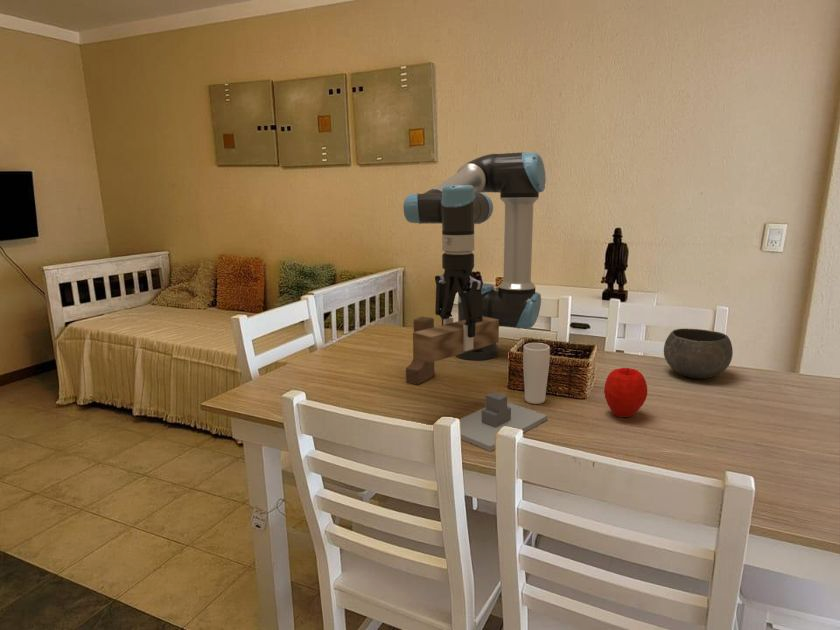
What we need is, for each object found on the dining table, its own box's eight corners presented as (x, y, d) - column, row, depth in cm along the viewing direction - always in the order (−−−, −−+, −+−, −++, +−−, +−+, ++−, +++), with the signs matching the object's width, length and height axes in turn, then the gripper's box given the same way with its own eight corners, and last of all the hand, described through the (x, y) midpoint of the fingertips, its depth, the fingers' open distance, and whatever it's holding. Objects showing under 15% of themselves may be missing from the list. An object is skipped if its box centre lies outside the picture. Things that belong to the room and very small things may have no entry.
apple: (640, 427, 127) (644, 377, 124) (597, 418, 132) (600, 371, 129) (648, 412, 135) (652, 365, 132) (607, 404, 140) (610, 359, 137)
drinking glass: (549, 397, 145) (551, 343, 142) (546, 407, 139) (548, 351, 136) (523, 394, 148) (525, 341, 144) (519, 404, 141) (521, 349, 138)
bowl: (662, 381, 155) (666, 339, 152) (661, 362, 171) (664, 323, 168) (733, 389, 148) (739, 344, 145) (725, 368, 165) (730, 328, 162)
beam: (480, 338, 143) (481, 315, 142) (498, 342, 139) (499, 319, 138) (413, 357, 127) (412, 332, 126) (431, 362, 123) (430, 337, 122)
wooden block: (418, 385, 156) (416, 324, 152) (405, 382, 159) (403, 322, 155) (435, 376, 164) (434, 317, 159) (422, 373, 166) (421, 316, 162)
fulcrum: (501, 404, 142) (501, 376, 140) (547, 419, 132) (548, 390, 130) (442, 431, 127) (442, 401, 125) (490, 451, 117) (490, 418, 115)
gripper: (419, 250, 132) (420, 342, 137) (478, 257, 118) (477, 358, 124) (440, 248, 137) (441, 336, 142) (500, 253, 123) (498, 351, 129)
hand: (458, 346), depth 133 cm, fingers closed on beam, 6 cm apart
